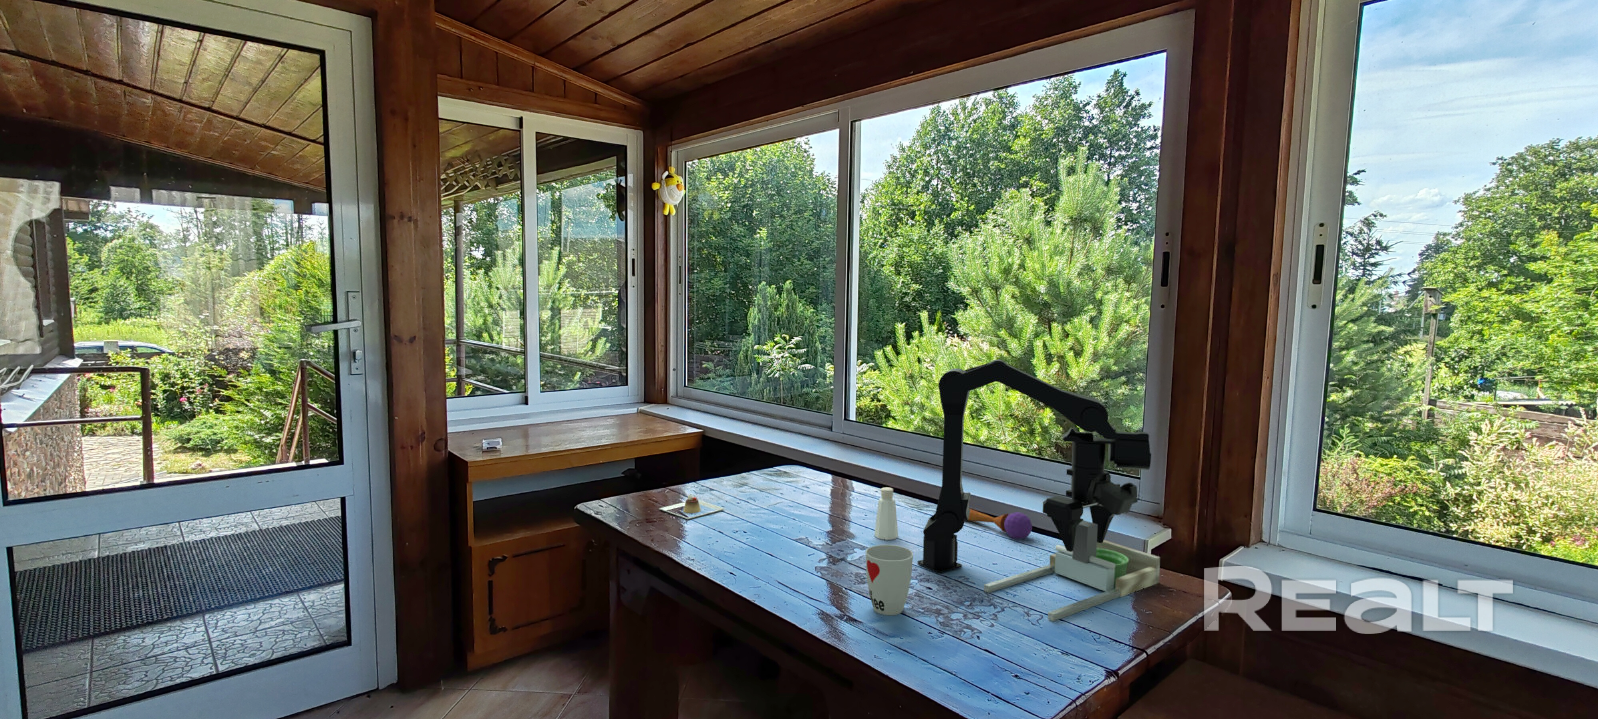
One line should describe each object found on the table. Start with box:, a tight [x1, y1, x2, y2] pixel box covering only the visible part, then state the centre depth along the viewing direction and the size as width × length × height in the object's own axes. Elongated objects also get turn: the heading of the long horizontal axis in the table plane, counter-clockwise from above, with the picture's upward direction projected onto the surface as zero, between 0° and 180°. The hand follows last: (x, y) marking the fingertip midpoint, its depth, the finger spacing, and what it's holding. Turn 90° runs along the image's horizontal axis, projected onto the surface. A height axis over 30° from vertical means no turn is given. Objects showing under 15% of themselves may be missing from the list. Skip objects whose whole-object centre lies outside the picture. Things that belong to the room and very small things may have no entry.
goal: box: [983, 539, 1161, 622], centre depth 133 cm, size 31×15×5 cm, turn 123°
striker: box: [1054, 519, 1115, 592], centre depth 135 cm, size 3×12×11 cm, turn 33°
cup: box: [865, 544, 914, 616], centre depth 123 cm, size 8×8×10 cm
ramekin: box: [1096, 548, 1129, 586], centre depth 138 cm, size 9×9×4 cm
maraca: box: [968, 508, 1033, 540], centre depth 167 cm, size 6×6×20 cm
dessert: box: [658, 494, 726, 520], centre depth 181 cm, size 12×12×5 cm
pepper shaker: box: [874, 486, 899, 541], centre depth 161 cm, size 5×5×11 cm
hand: (1084, 546), depth 135 cm, fingers open, 9 cm apart
